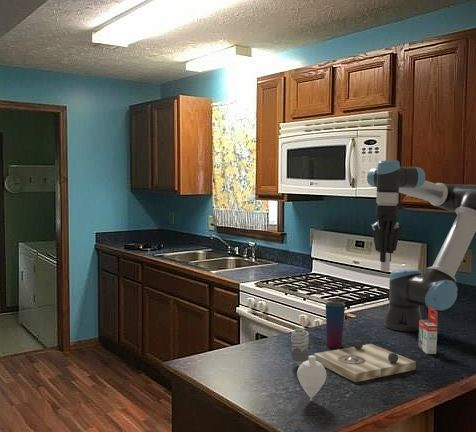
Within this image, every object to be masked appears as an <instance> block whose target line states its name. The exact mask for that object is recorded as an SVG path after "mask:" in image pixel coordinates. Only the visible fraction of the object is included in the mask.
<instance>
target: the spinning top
mask: <svg viewBox="0 0 476 432" xmlns="http://www.w3.org/2000/svg"><path fill="white" fill-rule="evenodd" d="M315 360H316V357H315V356H314V354H313V355H308V359H307V360H306V361H304V362H303V363H302V364H301V365H300V366H298V368H297V371H296V375H297V379H298V381H299V384H300V386H301V387H302V388H303V390H304V392H305V393H306V394H307V396H308V397H309V398H310V399H309V400H310V402H312V401H313V398H314V397H315V396H316V394H317V393H318V392H319V391H320V390H321V389H322V387H323V386H324V384H325V382H326V380H327V371H326V369H325V368H326V367H324V366H323V365H322V364H321V363H320V362H317V361H315Z"/></svg>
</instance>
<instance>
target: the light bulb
mask: <svg viewBox="0 0 476 432" xmlns="http://www.w3.org/2000/svg"><path fill="white" fill-rule="evenodd" d="M290 335H291V336H290V338H291V339H290V341H291V346H292V349H290V353H291V360H292V361H295V365H296V366H297V367H299V366H300V365H301V364H302V363H303V362H305V361H308V360H309V350H308V347H309V343H310V336H309V335H310V333H309V332H308V331H307V330H305V329H303V328H295V331H292V332H291V334H290Z"/></svg>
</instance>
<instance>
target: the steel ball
mask: <svg viewBox="0 0 476 432" xmlns="http://www.w3.org/2000/svg"><path fill="white" fill-rule="evenodd" d="M346 361H347V362H356V361H355V359H354V358H348V359H347V360H346Z"/></svg>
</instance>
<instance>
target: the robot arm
mask: <svg viewBox="0 0 476 432" xmlns="http://www.w3.org/2000/svg"><path fill="white" fill-rule="evenodd" d="M366 181H367V183H368V185H369V186H371V187H373V188H376V200H375V202H376V204H377V205H375V215H376V220H375V223H373V224H370V229H371V230H372V231H371V232H372V237H373V242H374V248H375V249H374V250H375V251H376V252H377V253H379V262H380V271H381V272H385V273H389V272H390V265H391V264H390V263H391V262H392V254H394V252H395V251H396V250H397V246H398V242H399V236H400V233H401V229H402V228H403V223H399V222H398V219H397V217H398V216H399V206H398V204H399V202H400V200H399V195H400V194H403V195H407V196H410V197H414V198H417V199H421V200H423V201H427V202H429V203H430V204H431V205H432V206H434V207H438V208H441V209H444V210H446V211H449V212H454V213H456V217H455V219H454V221H453V223H452V226H451V228H450V230H449V232H448V233H447V236H446V238H445V239H444V242H443V244H442V246H441V248H440V250H439V252H438V254H437V256H436V259H435V260H434V262H433V264H432V266H428V267H426V269H425V271H424V272H423V274H422V271H421V270H420V269H417V268H416V269H415V268H414V269H413V268H412V269H411V268H410V269H405V268H404V269H396V270H391V272H390V277H389V280H388V281H389V292H388V293H389V295H388V296H389V297H388V302H389V303H388V308H387V311H386V314H385V317H384V320H383V326H384V327H386V328H388V329H390V330H394V331H397V332H398V331H399V332H410V333H411V332H413V333H414V332H419V320H423V319H422V314H421V309H420V306H421V307H425V308H428V307H431V308H432V309H434V310H435V311H445V310H448V309H450V308H451V307H452V306H453V305H454V304H455V302H456V301H457V297H458V290H459V289H458V286H457V279H456V277H455V275H456V273H457V272H458V269H459V267H460V265H461V263H462V260H463V259H464V257H465V254H466V252H467V250H468V249H469V247H470V244H471V242H472V240H473V238H474V235H475V234H476V184H465V183H464V184H459V183H458V184H453V183H452V184H451V183H450V184H447V183H442V182H436V183H435V182H431V181H428V180H426V173H425V171H424V169H423V168H421V167H417V166H401V165H400V161H399V160H392V159H391V160H385V159H384V160H379V161H378V162H377V167H372V168H371V169H370V170H369V171H368V173H367V176H366Z"/></svg>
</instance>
